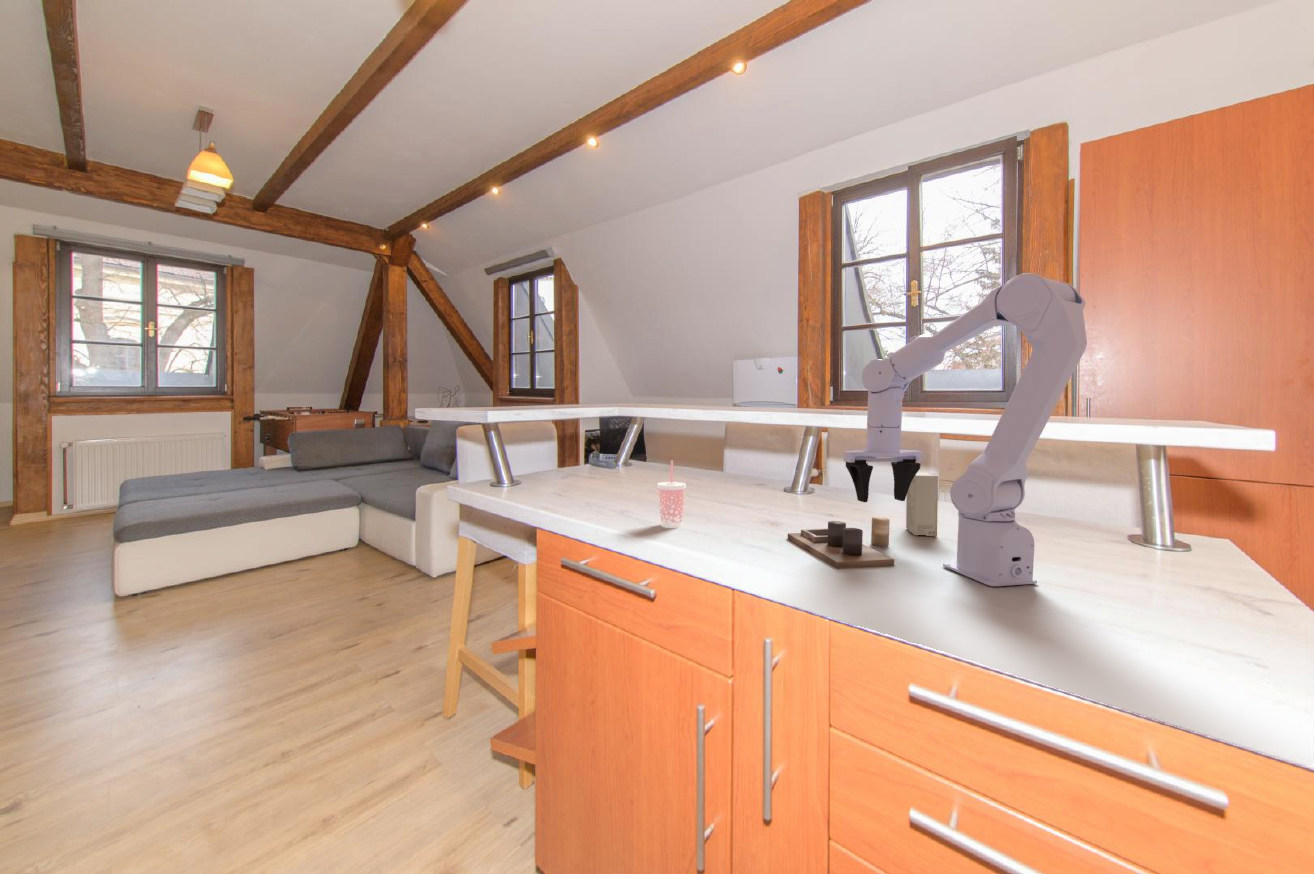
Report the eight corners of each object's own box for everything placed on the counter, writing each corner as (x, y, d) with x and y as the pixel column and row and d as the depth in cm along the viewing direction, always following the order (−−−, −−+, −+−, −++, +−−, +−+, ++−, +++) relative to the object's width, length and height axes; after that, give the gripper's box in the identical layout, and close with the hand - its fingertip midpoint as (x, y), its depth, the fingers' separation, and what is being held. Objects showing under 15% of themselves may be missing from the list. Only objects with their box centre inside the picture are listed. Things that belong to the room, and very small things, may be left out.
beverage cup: (686, 529, 103) (686, 462, 103) (656, 528, 104) (657, 461, 103) (685, 522, 110) (685, 458, 109) (657, 521, 110) (657, 458, 109)
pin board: (894, 565, 81) (895, 534, 80) (837, 568, 79) (838, 537, 78) (834, 536, 98) (835, 511, 98) (787, 538, 96) (788, 513, 96)
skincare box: (937, 537, 98) (940, 476, 97) (913, 535, 99) (915, 475, 98) (927, 529, 104) (929, 472, 104) (904, 528, 105) (906, 471, 104)
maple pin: (892, 547, 91) (893, 520, 91) (877, 547, 91) (878, 520, 90) (882, 542, 94) (882, 516, 94) (867, 543, 93) (868, 517, 93)
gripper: (904, 426, 96) (901, 495, 97) (835, 426, 94) (833, 497, 94) (931, 427, 89) (927, 502, 90) (857, 427, 87) (854, 505, 87)
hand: (881, 500), depth 92 cm, fingers open, 7 cm apart
